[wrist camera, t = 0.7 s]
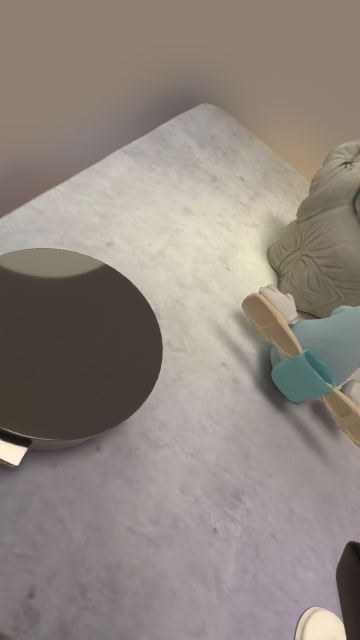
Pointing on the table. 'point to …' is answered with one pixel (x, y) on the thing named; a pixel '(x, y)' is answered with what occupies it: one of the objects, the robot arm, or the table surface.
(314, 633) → the chess piece
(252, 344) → the table surface
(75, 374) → the pot
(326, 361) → the toy figure
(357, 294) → the teapot
